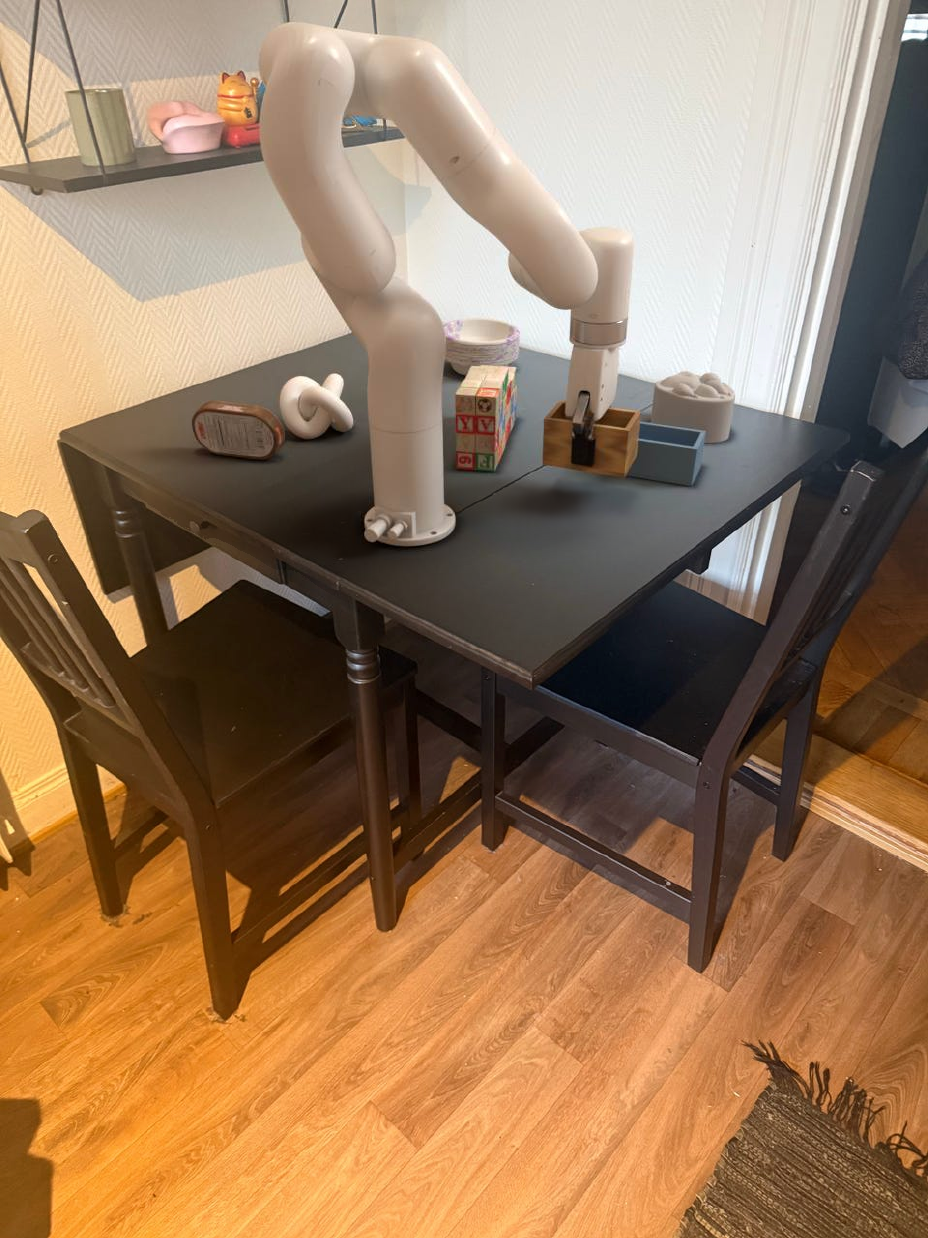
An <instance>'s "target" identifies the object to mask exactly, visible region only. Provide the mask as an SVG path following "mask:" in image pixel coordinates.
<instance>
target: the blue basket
mask: <svg viewBox="0 0 928 1238" xmlns="http://www.w3.org/2000/svg"><path fill="white" fill-rule="evenodd" d="M705 434H706V431H702V430H695V429H688V428H681V427H674V426H668V425H661V424H654V423H651V422H648V421H640V429H639V439H638V449H637V457H636V459H635V461H634V462H633V464H632V466H631V467H630V469H629V471H628V472H627V474H626V476H625V477H633V478H639V479H643V480H644V479H645V480H651V481H656V482H663V483H668V484H669V483H670V484H675V485H682V486H687V487H693V484H694V482H695V480H696V478H697V476H698V474H699V472H700V470H701V466H702V461H703V460H702V459H703V452H704V447H705V443H704V441H705Z"/></svg>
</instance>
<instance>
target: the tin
mask: <svg viewBox="0 0 928 1238" xmlns="http://www.w3.org/2000/svg"><path fill="white" fill-rule="evenodd" d="M191 429H192V432H193V435H194V437H195V440H196V441H197V442H198V443H199V444H200V445H201V447H203V448H204V450H207V451H208V452H210V453H212V454H215V455H220V456H226V457H227V456H228V457H234V458H235V457H236V458H243V459H250V460H251V459H252V460H257V461H258V460H259V461H262V460H267V459H270V458H272V457H273V456H274V455H275V454H276V453H277V452H279V451H280V450H281V449H282V447H283V445H284V443H285V440H286V434H285V430H284V429H285V428H284V426H283V424H282V422H281V421H280V419H279V418H278V417H277V415H276V414H275V413H273V412H272V411H270V409H268V408H265V407H263V406H260V405H253V404H252V405H251V404H244V403H237V402H236V403H234V402H227V401H221V400H209V401H207V402H204V403H203V404H202V405H201V406H200V407H199V408H198V410H196V412H195V413H194V414H193V416H192V418H191Z"/></svg>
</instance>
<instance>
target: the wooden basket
mask: <svg viewBox="0 0 928 1238" xmlns="http://www.w3.org/2000/svg"><path fill="white" fill-rule="evenodd" d="M565 408H566V400H558V402H557V403H556V404H555V405H554V406H553V407H552V409H551V410H550V411H549V412H548V413H547V415H546V416H545V417H544V418H543V433H542V434H543V439H542V466H547V467H554V468H561V469H567V470H574V471H580V472H585V473H586V472H587V473H593V474H600V475H605V476H612V477H618V478H625V477H627V476H626V474H627V472H628V471H629V469H630V467H631V466H632V464H633V462H634V461H635V459H636V457H637V449H638V439H639V429H640V422H641V418H642V411H640V410H635V409H626V408H618V407H612V406H611V407H609V408H608V409H607V411H606V412H605V413H604V415H603V416H602V417H601V418H600V419H599V420H597V421H596V425H595V431H594V437H593V439H596V441H595V456H594V464H593V466H592V467H589V466H582V465H576V464H572V463H571V449H572V433H573V431H572V429H573V424H572V422H573V418H574V415H573V416H571V417H570V418H569V417H567V416H566V414H565ZM586 416H589V417H593V413H586ZM585 426H587V427H588V430H589V427H590V422H586V421H585Z"/></svg>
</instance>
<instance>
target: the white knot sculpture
mask: <svg viewBox="0 0 928 1238" xmlns="http://www.w3.org/2000/svg"><path fill="white" fill-rule="evenodd" d="M344 382H345V381H344V379H343V377H342V376H341V374H338V373H330V374H329V375H328V376H326V378H325V380H324V382H323V383H322V385H320V384H319V383H318V382H317V381H315V380H314V379H312V378H310V377H308V376H303V375H299V376H294V377H292V378H291V379H289V380H288V381H287V382H285V384H284V385H283V387H282V389H281V390H280V395H279V410H280V413H281V418H282V420H283V422H284V424H285V426H286V427H287V428H288V430H289V431H290V432H291V433H292V434H293V435H294V436H297V437H298V438H299V439H300V438H301V439H304V440H315V439H317V438H319V437H320V436H322V435H323V434H325V432H326V431H327V430H328V429H329V427H330V426H331V428H333V430H335V431H338V432H341V433H347V432H348V431H350V430H351V429H352V428H353V426H354V419H353V418H354V417H353V414H352V411H351V410H350V408H349V407H348V406H347V405H346V403H345V402H344V401H343V400H341V395H342V392H343V389H344V386H345V383H344Z"/></svg>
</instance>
